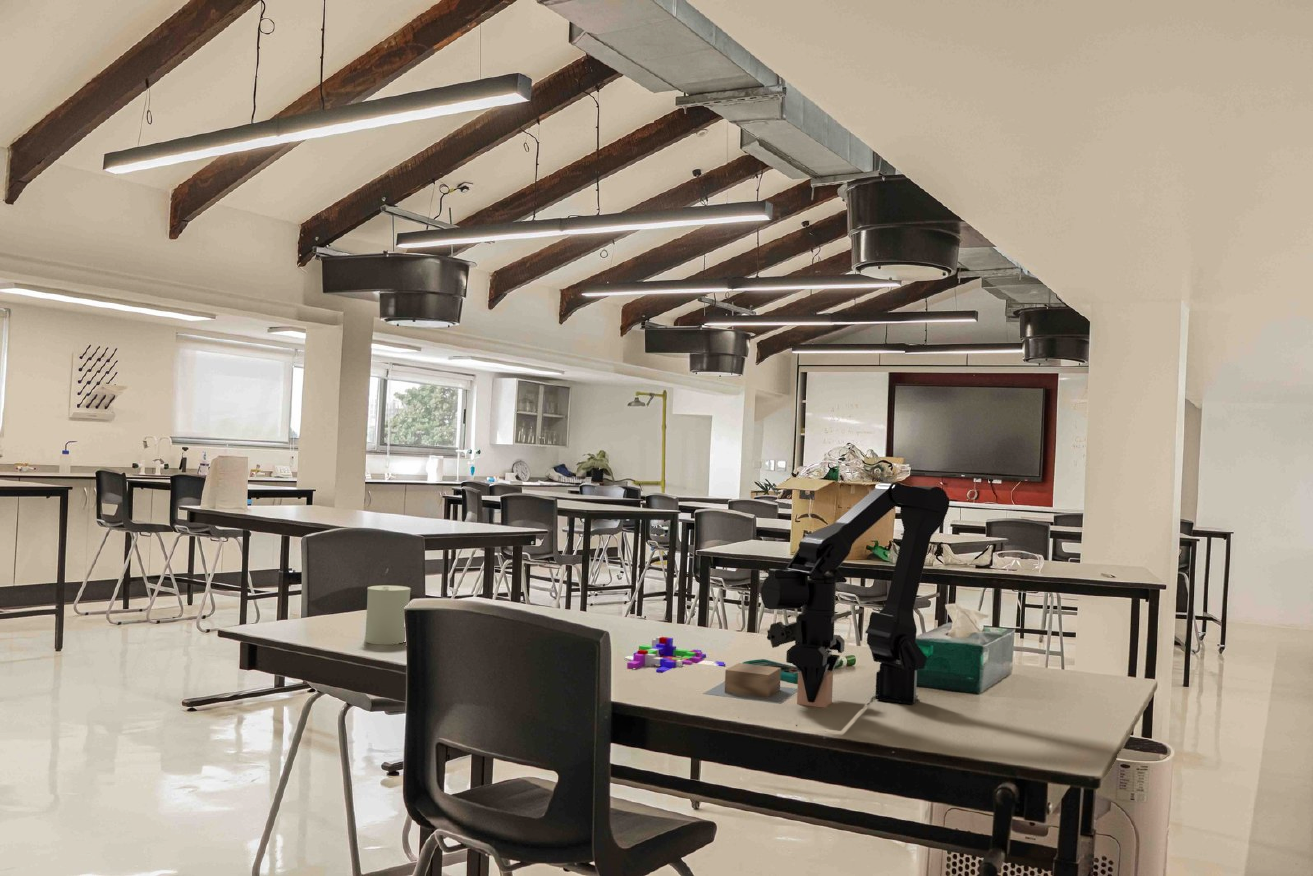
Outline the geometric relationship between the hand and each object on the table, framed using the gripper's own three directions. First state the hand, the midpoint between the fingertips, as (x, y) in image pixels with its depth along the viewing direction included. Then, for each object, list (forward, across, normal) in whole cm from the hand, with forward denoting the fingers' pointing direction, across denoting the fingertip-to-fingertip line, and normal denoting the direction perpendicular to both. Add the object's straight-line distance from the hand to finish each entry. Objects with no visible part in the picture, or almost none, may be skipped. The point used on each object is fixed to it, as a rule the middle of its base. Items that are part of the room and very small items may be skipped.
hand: (814, 699), depth 178 cm
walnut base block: (+1, -3, -12) cm, 12 cm away
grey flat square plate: (+1, -3, -12) cm, 12 cm away
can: (+2, -10, -96) cm, 97 cm away
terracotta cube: (+1, 0, 0) cm, 1 cm away
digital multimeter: (+2, -21, -12) cm, 24 cm away
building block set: (+2, -25, -35) cm, 43 cm away
